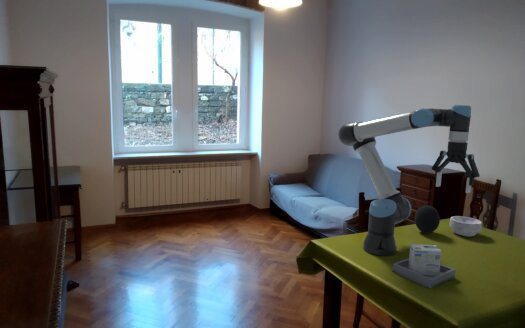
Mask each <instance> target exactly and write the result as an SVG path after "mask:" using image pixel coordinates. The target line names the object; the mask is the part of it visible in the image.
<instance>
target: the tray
mask: <svg viewBox="0 0 525 328" xmlns="http://www.w3.org/2000/svg"><path fill="white" fill-rule="evenodd" d="M408 267H409V257H408V258H405V259H402V260H400V261H397V262H395V263H392V273H395V274H397V275H399V276H401V277H403V278H406V280H407V279H408V280H409V281H412V282H415V283H416V284H419V285H421V286H423V287H426V288H428V289H433V288H435V287H438V286H440V285H442V284H445V283H447V282H449V281H452V280H454V279H455V277H456V269H454V268H452V267H450V266H447V265H444V264H442V263H440V271H439V275H437V276H427V275H421V274H419V273H417V272H414V271H412V270H409V268H408Z"/></svg>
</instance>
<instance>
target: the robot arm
mask: <svg viewBox="0 0 525 328" xmlns="http://www.w3.org/2000/svg"><path fill="white" fill-rule="evenodd" d="M471 117H472V106H470V105H466V104H462V105H461V104H453V105H452V106H451V108H450V109H446V108H431V107H429V108H419V109H417V110H413V111H409V112H404V113H401V114H396V115H392V116H388V117H384V118H383V117H382V118H379V119H373V120H370V121H365V122H364V121H356V122H347V123H345V124H343V125H342V126H341V127H340V128H339V131H338V139H339V141H340V143H341V144H343V145H345V146H346V147H347V146H348V147H352V148H353V150H354V152H355V153H357V154H359V156H360V158H361V161H362V163H363V165H364V167H365V169H366V171H367V173H368V174H367V175H369V178H370V179H371V182H372V184H373V186H374V189H375V191H376V193H377V196H378V198H377V199H374V200H372V201H371V202H370V205H369V209H368V213H369V214H368V226H367V227H368V230H367V233H366V237H365V239H364V241H363V243H362V244H363V245H362V248H363V250H364V252H367V253H369V254H372V255H376V256H383V257H384V256H386V257H387V256H388V257H390V256H394V255H396V253H397V244H396V239H395V227H396V225H397V224H399V223H401V222H404V221H406V220H407V219H408V218H409V217H410V215H411V214H412V205H411V202H410V201H409V199H407V198H405V196H404V197H403V195H402V193H401V191H400V190H397V189H396V188H395V185H394V183H393V181H392V178H391V177H390V175H389V172H388V171H387V168H386V166H385V164H384V162H383V161H382V158H381V156H380V153H379V152H378V150H377V148H376V144H377V141H376V138H377V137H381V136H387V135H390V134H391V135H392V134H396V133H400V132H402V133H403V132H406V131H411V130H416V129H423V128H427V127H448V128H449V130H448V131H449V132H448V140H449V141H447V151H446V150H440V152H439V155H438V157H437V159H435V162H434V163H433V165H432V167H431V170H432V171H434V172H435V173H434V179H435V181H436V182H435V188H436V187H437V188H439V187H441V185H442V178H443V177H442V175H443V171H442V170H443V169H444V168H445V167H446V166H447V165H448V164H450V163H455V164H460V166H461V167H462V168H463V170H464V171H465V173H466V174H467V176H468V177H467V178H466V185H465V194H470V193H472V186H474V184H475V183H474V182H475V179H476V178H480V173H479V169H478V167H477V165H476V162H475V154H474V153H472V154H471V153H470V154H467V151H468V145H469V144H468V142H467V141H469V134H470V133H469V132H470V126H471V124H470V123H471V119H472V118H471ZM445 156H446V157H447V158H445ZM466 159H467V161H466ZM443 160H444V161H443ZM442 161H443V162H442ZM467 162H468V163H467Z"/></svg>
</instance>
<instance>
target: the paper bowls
mask: <svg viewBox="0 0 525 328" xmlns="http://www.w3.org/2000/svg"><path fill="white" fill-rule="evenodd" d="M449 227H450V228H451V229H452V230H453V232H454V233H455V234H457V235H459V236H463V237H470V238H471V237H474V236H475V235H477V234H479V233H481V232H482V227H483V222H482V221H481V220H480V219H476V218H473V217H468V216H463V215H462V216H461V215H455V216H451V217H450V219H449Z"/></svg>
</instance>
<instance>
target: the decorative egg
mask: <svg viewBox="0 0 525 328" xmlns="http://www.w3.org/2000/svg"><path fill="white" fill-rule="evenodd" d="M440 221H441V217H440V214H439V212H438V210H437V209H436V208H435V207H434V206H432V205H428V204H426V205H423V206H420V207H419V208H418V209H417V210H416V212H415V214H414V223H415V226H416V227H417V229H418V230H419V231H420V232H422V233H424V234H431V233H433V232H435V231H436V230H437V229H438V227H439V225H440Z"/></svg>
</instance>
